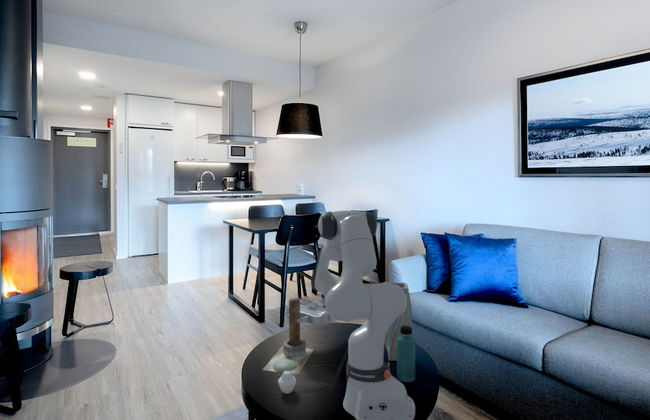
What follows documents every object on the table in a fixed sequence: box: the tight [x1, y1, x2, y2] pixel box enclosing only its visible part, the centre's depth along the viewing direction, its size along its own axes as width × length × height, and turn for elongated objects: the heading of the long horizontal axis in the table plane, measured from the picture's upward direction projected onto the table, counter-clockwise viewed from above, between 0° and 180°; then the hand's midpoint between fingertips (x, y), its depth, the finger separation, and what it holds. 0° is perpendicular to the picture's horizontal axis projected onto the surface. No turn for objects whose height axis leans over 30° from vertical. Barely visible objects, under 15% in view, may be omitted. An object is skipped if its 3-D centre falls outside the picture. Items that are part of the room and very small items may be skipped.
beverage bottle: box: [396, 326, 416, 383], centre depth 134 cm, size 6×7×20 cm
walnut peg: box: [288, 297, 301, 345], centre depth 154 cm, size 4×4×18 cm
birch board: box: [262, 338, 315, 375], centre depth 149 cm, size 14×22×6 cm, turn 166°
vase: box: [382, 281, 413, 362], centre depth 152 cm, size 14×14×30 cm
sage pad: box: [273, 359, 296, 373], centre depth 143 cm, size 9×9×1 cm
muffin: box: [277, 371, 297, 394], centre depth 128 cm, size 6×6×7 cm
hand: (292, 319), depth 153 cm, fingers closed on walnut peg, 4 cm apart
